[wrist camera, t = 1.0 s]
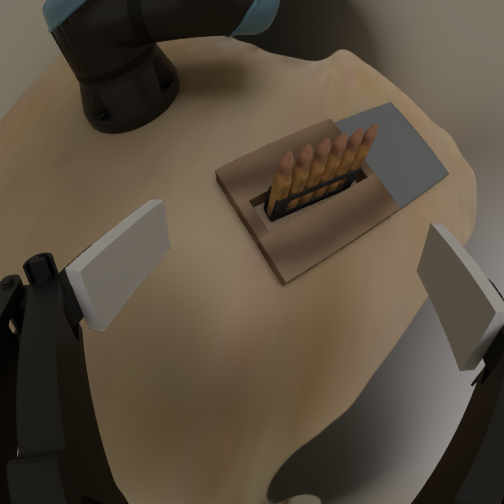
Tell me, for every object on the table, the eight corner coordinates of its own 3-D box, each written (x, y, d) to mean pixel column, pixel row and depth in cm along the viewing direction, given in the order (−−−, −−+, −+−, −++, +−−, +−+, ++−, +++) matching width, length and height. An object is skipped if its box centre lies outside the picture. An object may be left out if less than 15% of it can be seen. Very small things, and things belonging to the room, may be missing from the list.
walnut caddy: (216, 181, 32) (214, 170, 30) (325, 130, 35) (329, 118, 32) (282, 286, 30) (285, 282, 27) (390, 215, 32) (400, 208, 29)
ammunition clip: (270, 222, 31) (284, 165, 20) (263, 208, 32) (272, 146, 20) (349, 188, 33) (390, 129, 21) (341, 175, 33) (378, 114, 21)
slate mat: (328, 129, 35) (329, 124, 34) (388, 106, 37) (390, 102, 36) (393, 214, 32) (396, 211, 31) (445, 176, 34) (449, 173, 33)
